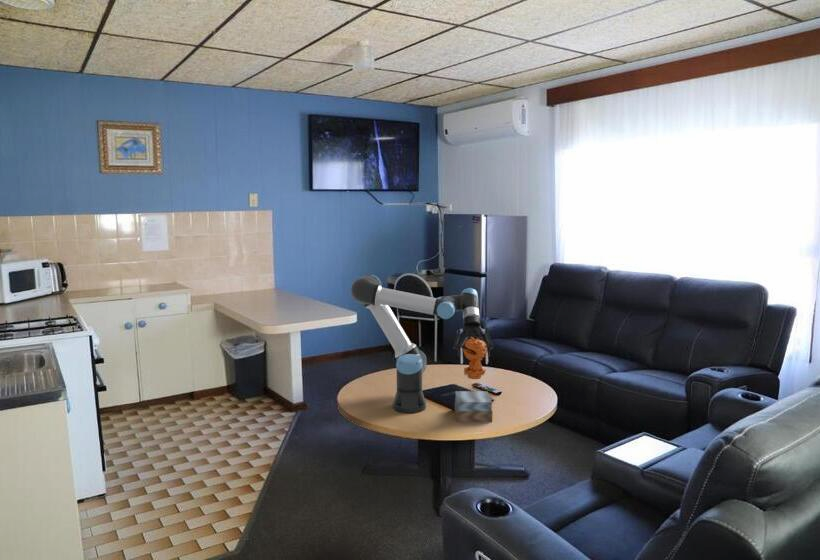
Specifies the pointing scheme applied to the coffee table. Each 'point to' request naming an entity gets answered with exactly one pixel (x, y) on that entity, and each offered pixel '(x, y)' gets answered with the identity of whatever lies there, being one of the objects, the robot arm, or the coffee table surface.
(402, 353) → the robot arm
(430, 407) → the coffee table surface
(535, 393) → the coffee table surface
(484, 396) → the grey square block
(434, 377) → the coffee table surface
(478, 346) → the orange figurine
